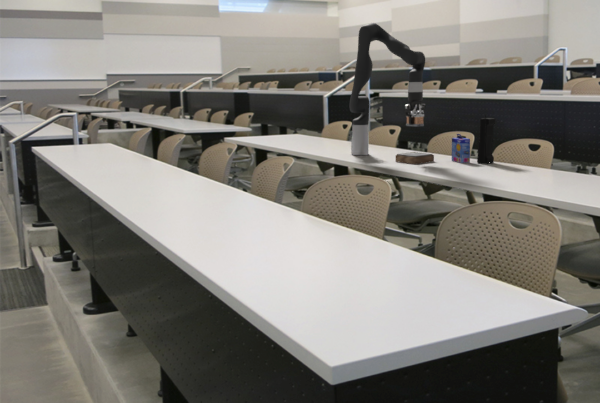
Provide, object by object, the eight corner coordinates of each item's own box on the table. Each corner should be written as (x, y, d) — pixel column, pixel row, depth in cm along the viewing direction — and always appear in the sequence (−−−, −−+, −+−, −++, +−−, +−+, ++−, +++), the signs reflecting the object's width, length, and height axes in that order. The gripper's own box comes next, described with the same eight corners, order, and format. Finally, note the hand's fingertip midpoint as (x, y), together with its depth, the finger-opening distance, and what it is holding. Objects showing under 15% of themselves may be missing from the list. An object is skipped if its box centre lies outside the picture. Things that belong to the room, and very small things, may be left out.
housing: (417, 126, 328) (417, 114, 327) (405, 125, 334) (406, 114, 333) (424, 125, 331) (424, 114, 330) (412, 125, 337) (412, 113, 336)
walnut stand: (395, 161, 338) (395, 154, 337) (413, 159, 346) (414, 151, 345) (415, 164, 327) (415, 156, 326) (433, 161, 335) (434, 153, 334)
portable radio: (484, 161, 331) (485, 112, 326) (494, 162, 327) (496, 113, 322) (476, 163, 325) (477, 113, 321) (487, 164, 321) (488, 114, 316)
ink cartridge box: (450, 160, 336) (451, 133, 334) (459, 160, 338) (460, 132, 335) (460, 163, 327) (461, 134, 324) (470, 162, 329) (471, 134, 326)
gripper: (411, 91, 322) (410, 125, 325) (430, 90, 331) (429, 123, 334) (400, 91, 328) (399, 124, 331) (419, 90, 337) (419, 123, 340)
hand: (414, 124), depth 333 cm, fingers closed on housing, 5 cm apart
